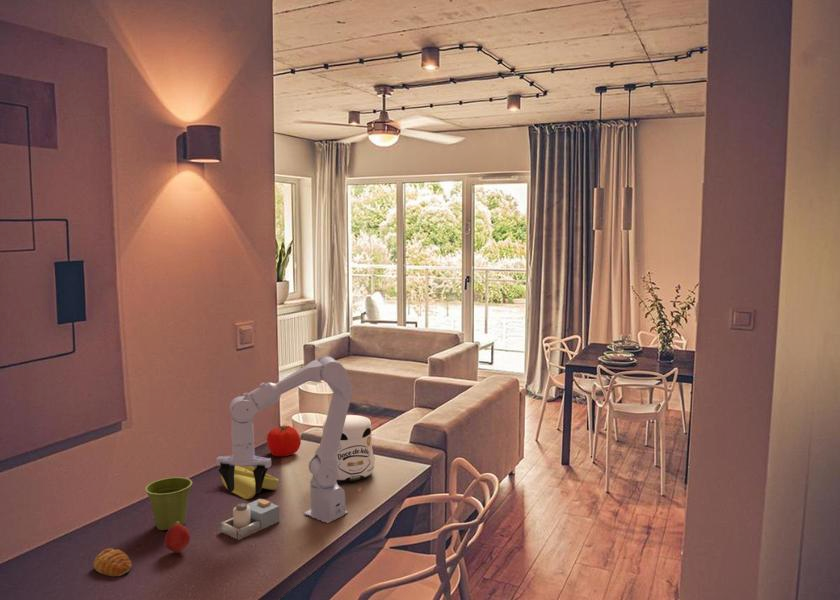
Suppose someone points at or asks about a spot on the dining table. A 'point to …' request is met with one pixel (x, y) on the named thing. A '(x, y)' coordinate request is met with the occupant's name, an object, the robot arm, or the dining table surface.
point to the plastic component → (249, 482)
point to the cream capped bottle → (241, 515)
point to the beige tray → (242, 532)
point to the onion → (177, 538)
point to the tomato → (283, 441)
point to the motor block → (264, 512)
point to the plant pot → (169, 500)
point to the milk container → (355, 449)
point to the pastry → (112, 562)
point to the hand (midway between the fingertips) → (245, 491)
